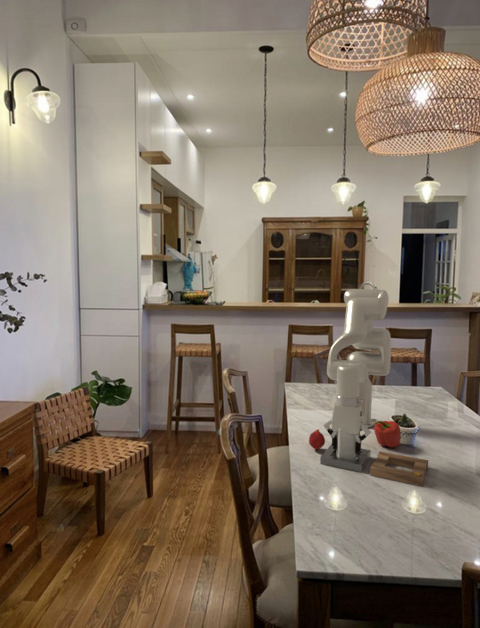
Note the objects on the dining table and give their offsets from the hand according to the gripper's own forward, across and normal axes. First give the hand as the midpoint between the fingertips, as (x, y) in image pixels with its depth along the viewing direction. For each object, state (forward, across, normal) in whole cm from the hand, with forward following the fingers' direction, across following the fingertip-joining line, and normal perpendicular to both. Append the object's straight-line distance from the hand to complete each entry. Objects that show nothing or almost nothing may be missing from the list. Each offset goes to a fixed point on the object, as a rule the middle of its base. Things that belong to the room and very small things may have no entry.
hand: (346, 449), depth 158 cm
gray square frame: (+4, 0, 0) cm, 4 cm away
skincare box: (+4, 0, 0) cm, 4 cm away
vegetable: (+4, -10, -21) cm, 24 cm away
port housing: (+4, -18, 0) cm, 18 cm away
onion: (+4, +12, -4) cm, 13 cm away
